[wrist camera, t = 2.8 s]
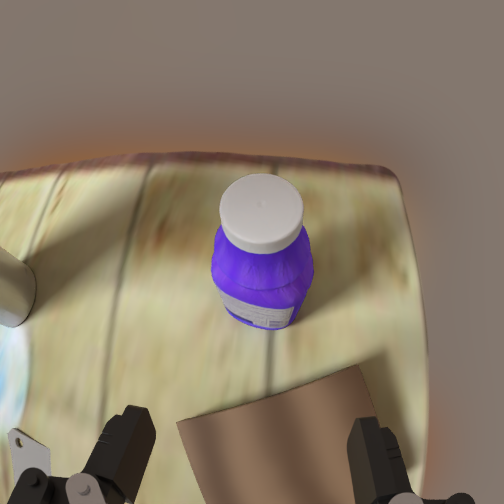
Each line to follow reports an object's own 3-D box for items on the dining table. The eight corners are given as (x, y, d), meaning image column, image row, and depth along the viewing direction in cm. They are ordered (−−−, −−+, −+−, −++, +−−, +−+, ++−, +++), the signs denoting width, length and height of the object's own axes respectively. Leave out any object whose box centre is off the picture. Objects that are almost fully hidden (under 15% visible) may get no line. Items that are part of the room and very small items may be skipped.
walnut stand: (233, 534, 19) (228, 551, 16) (187, 418, 25) (175, 422, 22) (385, 483, 21) (401, 494, 17) (346, 367, 27) (358, 364, 23)
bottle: (305, 287, 30) (343, 177, 15) (290, 340, 28) (321, 278, 13) (238, 267, 32) (211, 147, 16) (219, 318, 29) (165, 234, 14)
